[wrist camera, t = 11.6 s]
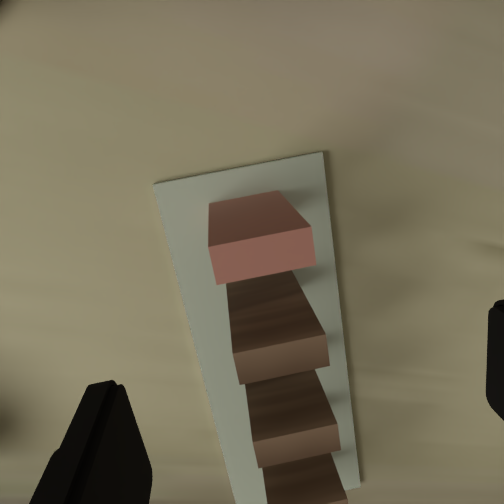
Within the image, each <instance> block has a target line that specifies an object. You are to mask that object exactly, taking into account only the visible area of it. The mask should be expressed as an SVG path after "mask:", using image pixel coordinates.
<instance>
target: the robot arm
mask: <svg viewBox="0 0 504 504" xmlns="http://www.w3.org/2000/svg"><path fill="white" fill-rule="evenodd" d="M486 397H487V400H488V403H489V405H490V406H491V408H492V409H493V410H494V411H495V412H496V413H497V414H498V415H499V416H500V417H501V418H502V419H503V420H504V300H499V301H497V302H495V304H494V306H493V308H491V309H490V310H489V314H488V341H487V372H486ZM151 487H152V468H151V464H150V461H149V458H148V455H147V452H146V449H145V446H144V443H143V440H142V437H141V434H140V431H139V428H138V426H137V423H136V420H135V417H134V414H133V411H132V408H131V405H130V402H129V399H128V396H127V393H126V390H125V387H124V386H123V385H122V384H120V385H117V384H116V382H115V381H114V380H110V381H105V382H100V383H95V384H90V385H88V387H87V388H86V391H85V393H84V395H83V397H82V399H81V402H80V404H79V406H78V408H77V410H76V413H75V415H74V417H73V419H72V421H71V424H70V426H69V428H68V430H67V432H66V435H65V437H64V439H63V441H62V443H61V446H60V448H59V449H57V450H56V451H55V452H54V453H53V455H52V456H51V458H50V460H49V462H48V464H47V467H46V469H45V471H44V473H43V475H42V477H41V479H40V481H39V484H38V486H37V488H36V490H35V492H34V494H33V496H32V499H31V501H30V503H29V504H149V499H150V493H151Z"/></svg>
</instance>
